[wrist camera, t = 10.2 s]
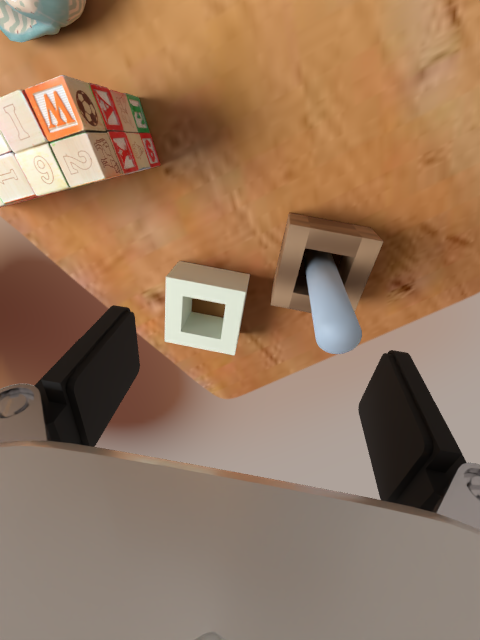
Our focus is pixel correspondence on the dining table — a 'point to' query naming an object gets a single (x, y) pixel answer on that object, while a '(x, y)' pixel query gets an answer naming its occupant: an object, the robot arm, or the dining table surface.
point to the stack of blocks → (69, 138)
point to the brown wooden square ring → (324, 236)
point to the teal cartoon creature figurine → (37, 17)
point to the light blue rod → (330, 305)
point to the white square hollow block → (210, 287)
